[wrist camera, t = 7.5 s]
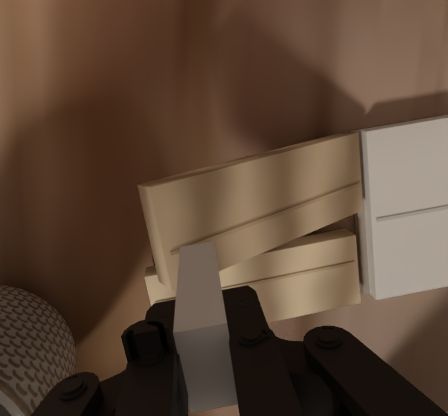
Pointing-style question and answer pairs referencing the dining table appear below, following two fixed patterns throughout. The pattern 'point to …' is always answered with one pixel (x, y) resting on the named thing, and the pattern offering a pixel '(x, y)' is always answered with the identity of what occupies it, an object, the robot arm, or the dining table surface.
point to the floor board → (403, 208)
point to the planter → (31, 350)
